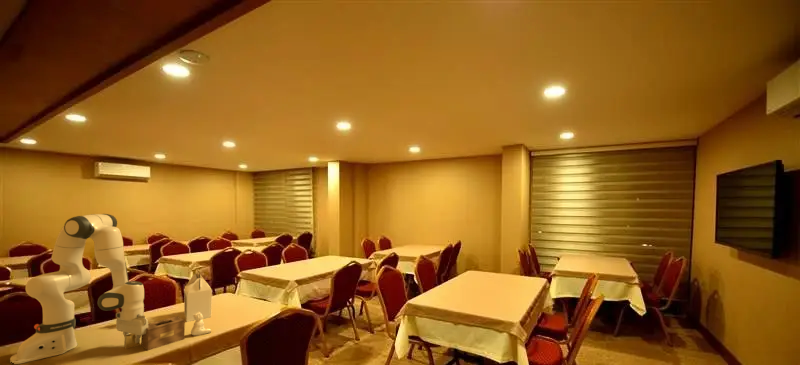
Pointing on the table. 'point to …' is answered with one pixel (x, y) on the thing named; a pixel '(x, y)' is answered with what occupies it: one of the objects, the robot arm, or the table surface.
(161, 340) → the coin box
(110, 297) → the robot arm
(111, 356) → the table surface
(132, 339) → the token
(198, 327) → the sitting furry creature
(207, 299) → the gable box
